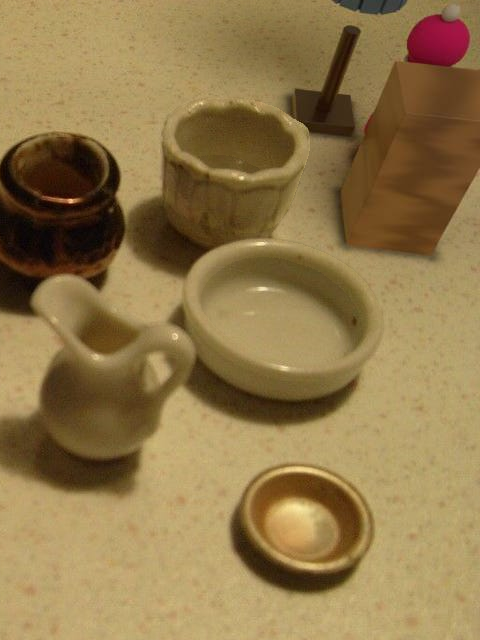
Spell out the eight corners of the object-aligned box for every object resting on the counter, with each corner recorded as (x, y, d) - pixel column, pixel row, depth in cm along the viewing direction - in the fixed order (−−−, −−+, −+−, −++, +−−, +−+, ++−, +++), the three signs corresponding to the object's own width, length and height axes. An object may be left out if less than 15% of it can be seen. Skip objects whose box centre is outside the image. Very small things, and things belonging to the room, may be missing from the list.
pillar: (420, 202, 98) (488, 70, 85) (430, 256, 93) (504, 124, 80) (340, 192, 99) (394, 60, 86) (345, 245, 94) (405, 112, 80)
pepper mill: (350, 141, 105) (413, -16, 90) (410, 148, 105) (485, -9, 89) (355, 178, 101) (422, 19, 85) (418, 186, 100) (498, 27, 85)
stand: (346, 104, 110) (380, 17, 101) (351, 137, 106) (386, 49, 97) (291, 98, 111) (319, 10, 102) (293, 130, 107) (322, 42, 97)
